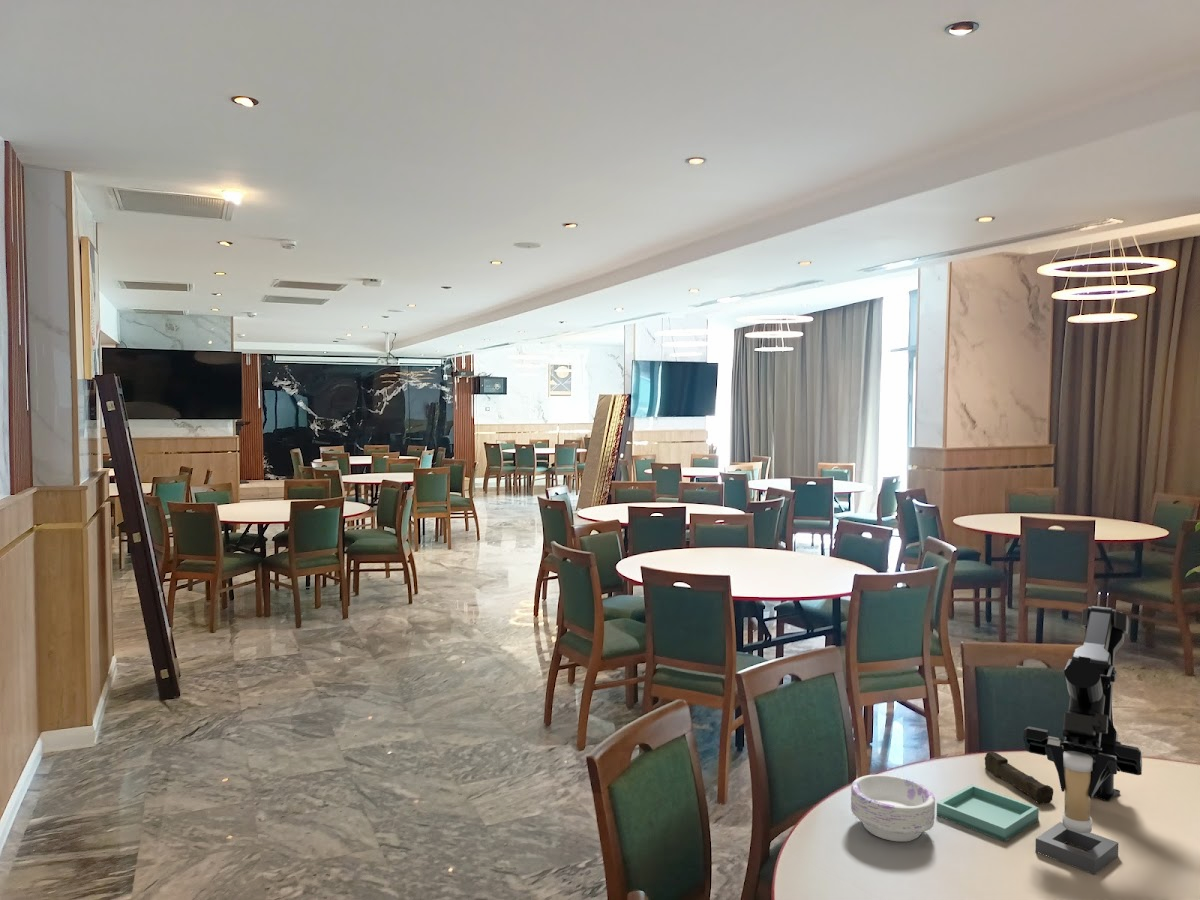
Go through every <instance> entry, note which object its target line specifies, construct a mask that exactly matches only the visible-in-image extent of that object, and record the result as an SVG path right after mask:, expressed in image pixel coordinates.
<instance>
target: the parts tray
mask: <svg viewBox="0 0 1200 900" xmlns="http://www.w3.org/2000/svg"><path fill="white" fill-rule="evenodd" d="M1039 809H1040V807H1037V806H1035V805H1032V804H1029V803H1026V802H1023V801H1020V800H1018V799H1015V798H1012V797H1008V796H1006V795H1003V794H1001V793H997V792H994V791H992V790H989V789H986V788H983V787H980V786H978V785H974V784H970V785H969V784H968V786H966V787H964V788H962V789H960V790H958V791H957V792H954V793H953V794H951V795H949V796H947V797H946V798H944V799H942V800H940V801H938V802H936V816H938V817H940V818H943V819H944V820H948V821H950V822H953V823H956V824H958V825H960V826H963V827H966V828H968V829H971V830H974V831H976V832H978V833H981V834H984V835H986V836H989V837H991V838H993V839H996V840H999V841H1001V842H1004V843H1005V842H1007V841H1008V840H1010V839H1013V837H1015V836H1016V835H1018V834H1020V833H1021V832H1023V831H1024V830H1025V829H1027V828H1028V827H1031V825H1033V824H1035V823H1037V822H1038V821H1039V813H1040V812H1039ZM1037 820H1038V821H1037Z"/></svg>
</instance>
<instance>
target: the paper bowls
mask: <svg viewBox="0 0 1200 900" xmlns="http://www.w3.org/2000/svg"><path fill="white" fill-rule="evenodd" d="M850 789H851V794H850V810H851V812H852V815H854V816H855V817H856V819H858V820H860V822H862V825H863V826H864V828H865V829H866V830H867V831H868V832H869V833H870V834H872V835H873V836H876V837H877V838H880V839H883V840H887V841H889V842H890V841H891V842H909V841H914V840H916V839H917V838H919V836H920V835H921V834H922V833H925V832H927V831H929V830H931V829H932V828H933V827H934V824H935V816H936V814H935V810H936V798H935V795H934V793H933V792H932V791H931V790H930V789H929V788H927V787H926V786H925V785H923V784H921V783H919V782H917V781H914V780H911V779H908V778H905V777H901V776H897V775H896V776H895V775H891V774H889V775H888V774H868V775H867V774H866V775H863V776H860V777H858V778H855V780H854V781H852V783H851V787H850Z"/></svg>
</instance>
